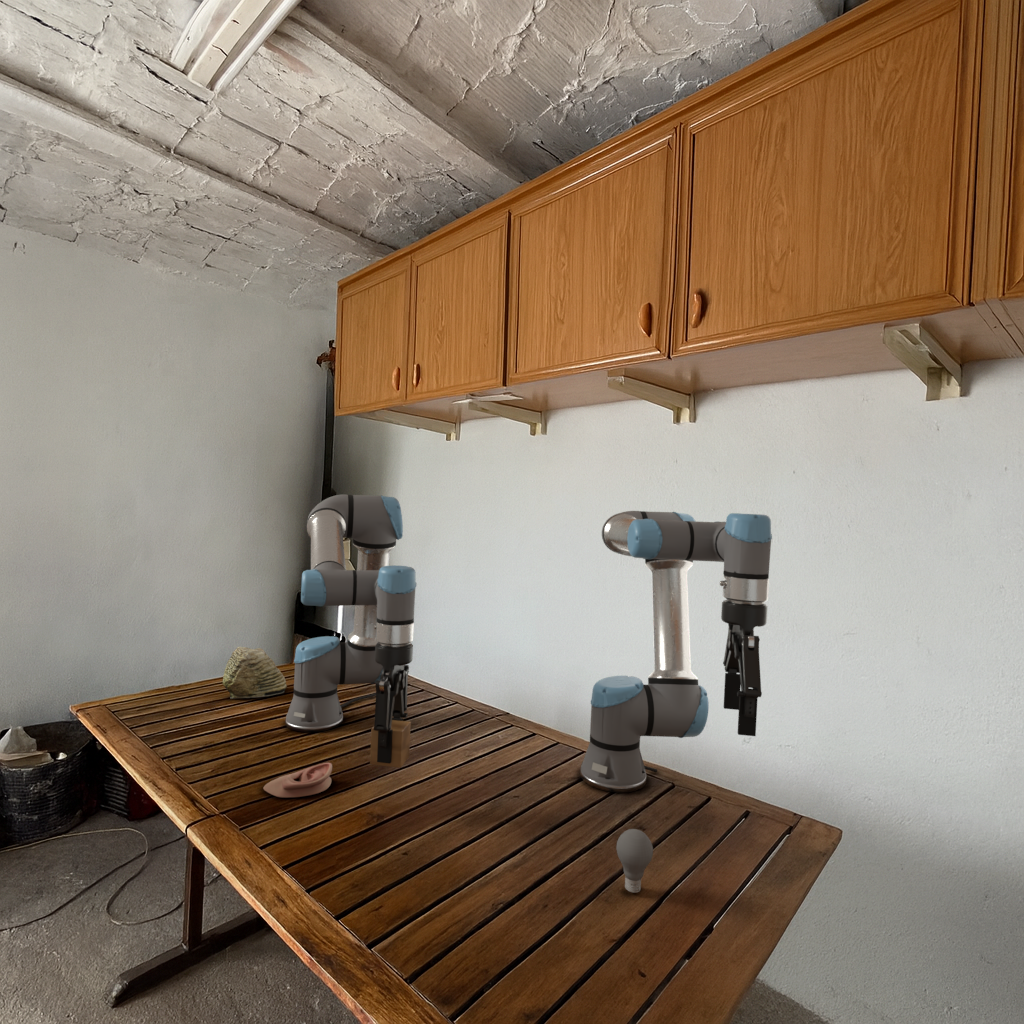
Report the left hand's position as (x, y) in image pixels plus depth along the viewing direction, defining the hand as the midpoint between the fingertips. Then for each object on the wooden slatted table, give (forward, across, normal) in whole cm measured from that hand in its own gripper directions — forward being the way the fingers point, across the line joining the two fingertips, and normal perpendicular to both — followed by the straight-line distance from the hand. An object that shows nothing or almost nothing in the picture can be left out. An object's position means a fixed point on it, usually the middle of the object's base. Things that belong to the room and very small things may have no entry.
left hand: (389, 755), depth 129 cm
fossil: (+12, -60, -65) cm, 89 cm away
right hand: (-16, +7, +66) cm, 68 cm away
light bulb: (+11, +17, +49) cm, 53 cm away
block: (+1, 0, 0) cm, 1 cm away
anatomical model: (+11, -5, -22) cm, 25 cm away
